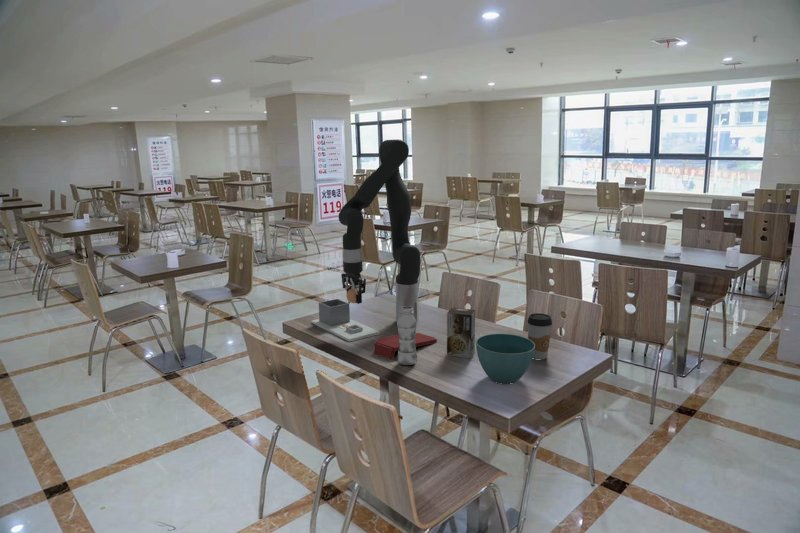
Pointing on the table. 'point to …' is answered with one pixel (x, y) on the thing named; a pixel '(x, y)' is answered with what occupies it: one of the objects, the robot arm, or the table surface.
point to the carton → (391, 344)
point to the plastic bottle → (407, 337)
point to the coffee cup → (539, 333)
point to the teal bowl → (505, 356)
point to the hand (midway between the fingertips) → (354, 301)
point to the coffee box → (461, 332)
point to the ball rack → (341, 321)
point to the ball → (351, 295)
